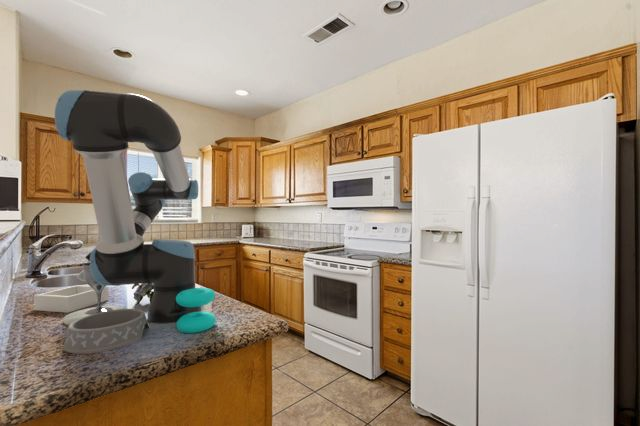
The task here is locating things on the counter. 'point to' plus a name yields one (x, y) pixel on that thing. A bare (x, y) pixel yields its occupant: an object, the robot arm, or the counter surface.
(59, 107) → the robot arm
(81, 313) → the plate
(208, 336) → the counter surface
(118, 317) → the dog bowl
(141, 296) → the passion flower
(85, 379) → the counter surface
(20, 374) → the counter surface
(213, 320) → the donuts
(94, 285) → the wine glass
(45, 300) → the holder
